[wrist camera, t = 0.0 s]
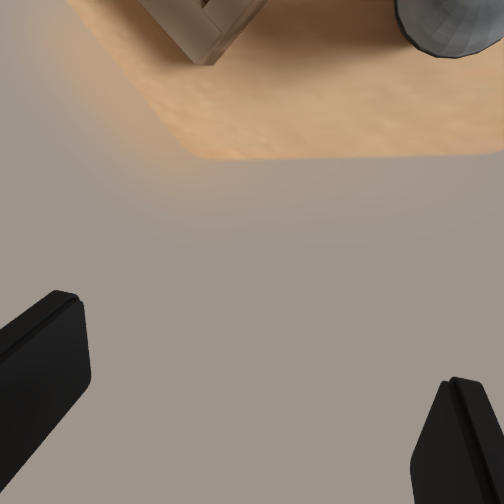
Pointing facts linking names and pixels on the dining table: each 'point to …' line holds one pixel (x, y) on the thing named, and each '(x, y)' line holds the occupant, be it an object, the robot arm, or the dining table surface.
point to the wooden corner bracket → (203, 24)
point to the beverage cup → (450, 25)
